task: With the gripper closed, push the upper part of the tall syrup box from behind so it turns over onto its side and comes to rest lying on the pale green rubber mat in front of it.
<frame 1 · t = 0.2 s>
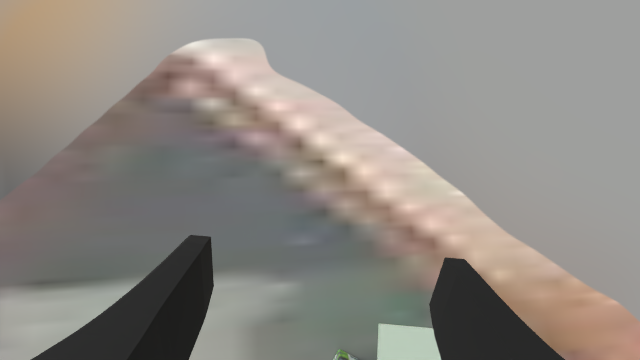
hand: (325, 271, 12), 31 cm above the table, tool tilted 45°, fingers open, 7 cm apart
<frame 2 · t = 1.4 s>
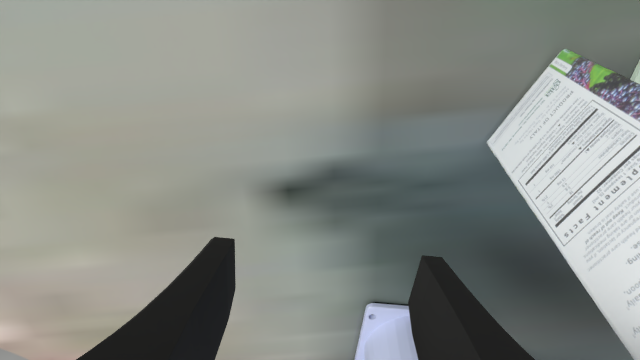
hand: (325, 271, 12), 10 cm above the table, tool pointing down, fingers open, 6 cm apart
syrup box: (559, 123, 20), on the table, touching mat
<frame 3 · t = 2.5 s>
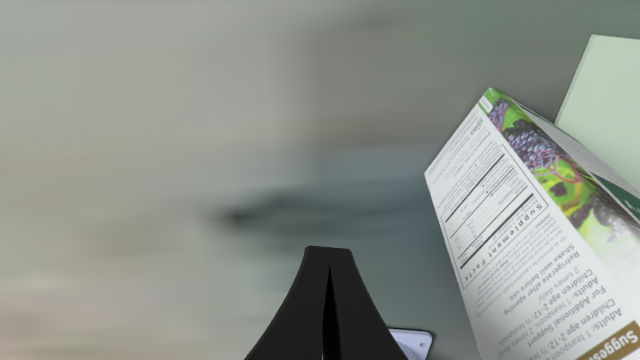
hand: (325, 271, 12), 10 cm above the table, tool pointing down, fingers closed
syrup box: (493, 155, 21), on the table, touching mat
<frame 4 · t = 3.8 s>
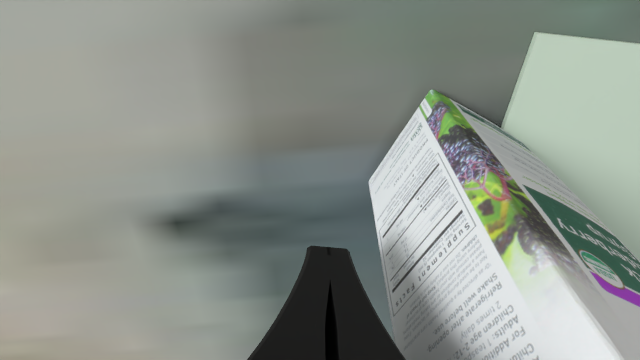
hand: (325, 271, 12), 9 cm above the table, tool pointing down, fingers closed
syrup box: (440, 160, 20), on the table, touching gripper, mat
mat: (638, 179, 20), on the table
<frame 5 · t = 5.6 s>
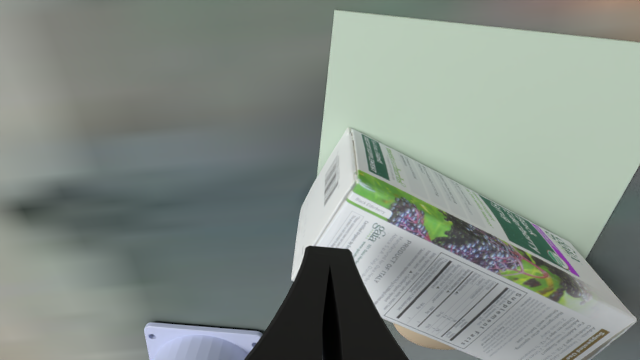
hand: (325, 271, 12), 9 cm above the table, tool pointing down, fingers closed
cork coaster: (452, 302, 25), on the table
syrup box: (314, 196, 18), point 3 cm above the table, touching cork coaster, mat
mat: (475, 162, 20), on the table
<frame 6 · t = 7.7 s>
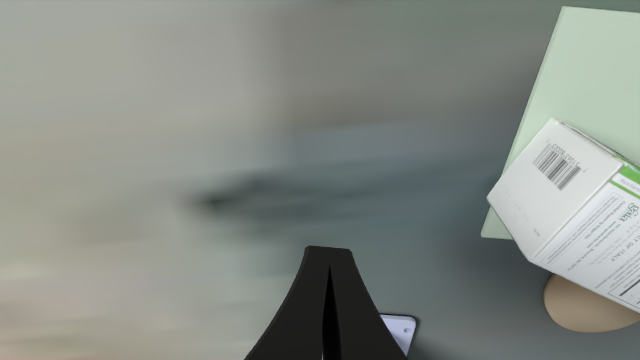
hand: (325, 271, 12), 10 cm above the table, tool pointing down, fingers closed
cork coaster: (605, 286, 26), on the table
syrup box: (534, 182, 19), point 3 cm above the table, touching cork coaster, mat
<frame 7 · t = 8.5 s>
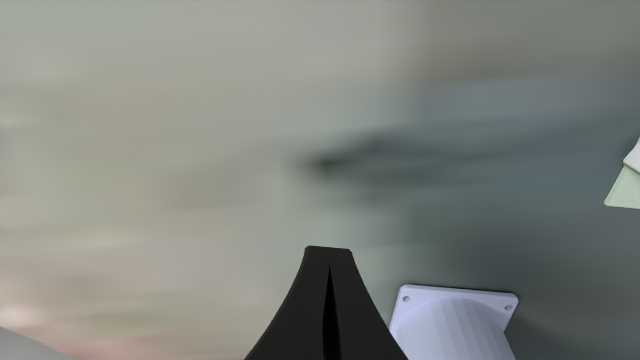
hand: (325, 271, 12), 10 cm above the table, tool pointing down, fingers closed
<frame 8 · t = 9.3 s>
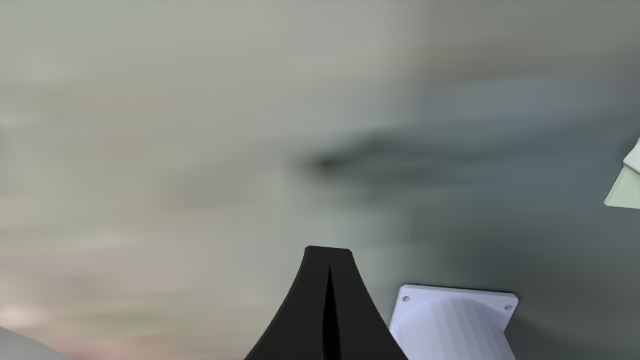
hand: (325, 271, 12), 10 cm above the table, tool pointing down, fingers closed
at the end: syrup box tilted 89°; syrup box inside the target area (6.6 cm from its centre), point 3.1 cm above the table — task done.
